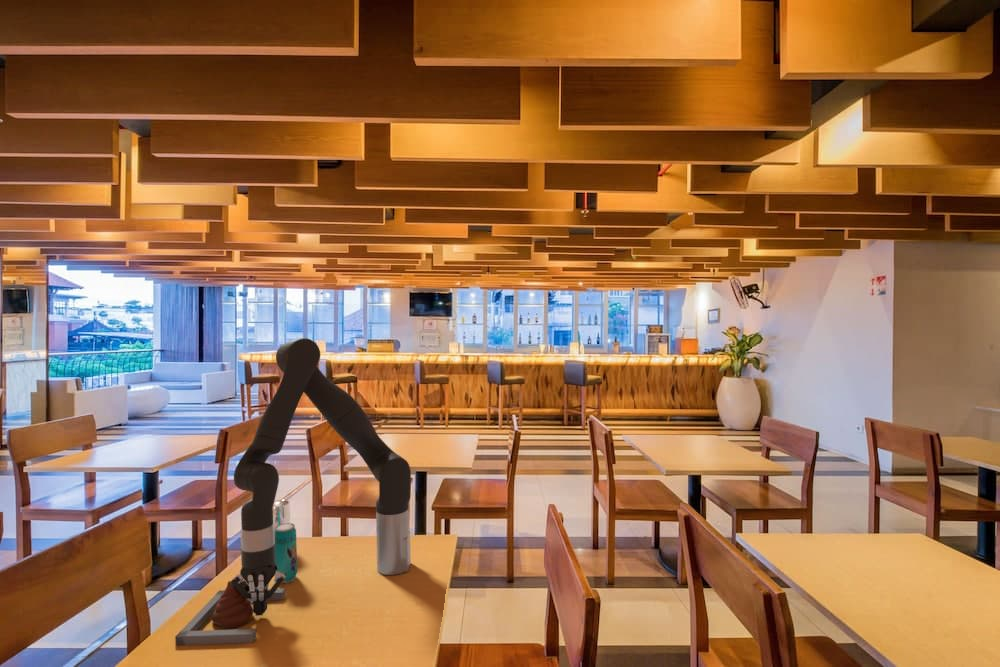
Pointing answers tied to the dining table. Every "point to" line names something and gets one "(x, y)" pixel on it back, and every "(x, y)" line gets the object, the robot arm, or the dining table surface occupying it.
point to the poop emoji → (232, 609)
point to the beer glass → (281, 512)
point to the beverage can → (286, 550)
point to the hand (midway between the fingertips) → (260, 613)
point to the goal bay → (195, 637)
